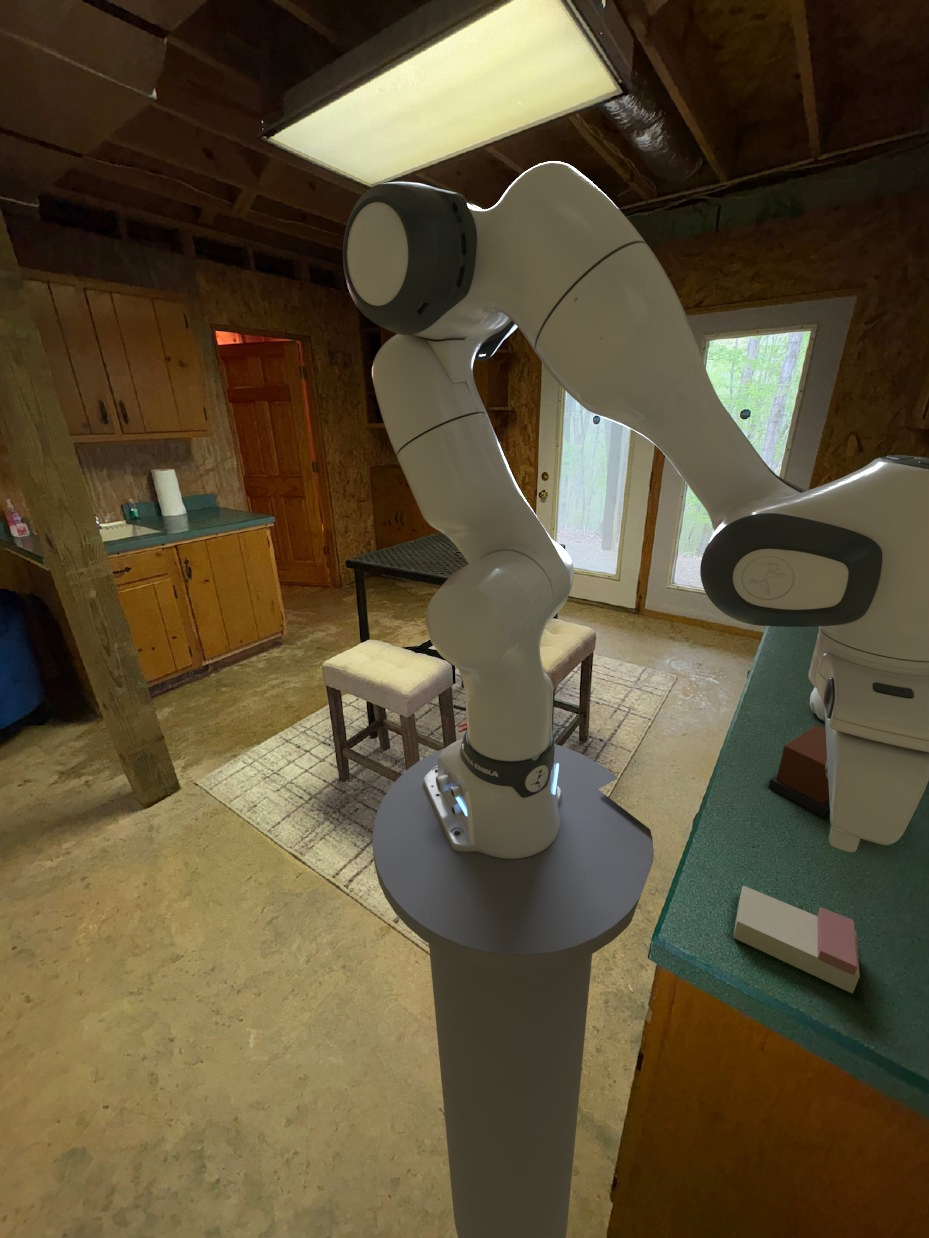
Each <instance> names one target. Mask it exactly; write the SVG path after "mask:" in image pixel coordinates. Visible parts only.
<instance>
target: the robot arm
mask: <svg viewBox="0 0 929 1238" xmlns="http://www.w3.org/2000/svg"><path fill="white" fill-rule="evenodd" d="M342 265H343V273H344V279H345V282H346V286H347V290H348V291H349V294H350V297H351V298H352V301H353V302H354V304H355V306H356V308H358V310H359V311H360V313H362V315H364V317H366V318H367V319H369V321H371V322H373V323H374V324H376V325H377V326H379V327H381V328H383V329H384V330H387V331H389V332H392V333H395V335H393V336H391V337H390V338H389V339H388V340H387V341H385V342H384V344H382V345H381V347H380V348H379V350H378V351H377V353H376V355H375V356H374V359H373V362H372V367H371V378H372V384H373V388H374V392H375V397H376V401H377V404H378V405H377V406H378V408H379V411H380V415H381V418H382V421H383V424H384V427H385V430H386V434H387V436H388V439H389V441H390V444H391V446H392V448H393V451H394V453H395V455H396V458H397V461H398V463H399V465H400V467H401V470H402V473H403V475H404V477H405V479H406V481H407V484H408V486H409V489H410V491H411V493H412V495H413V497H414V500H415V503H416V504H417V507H418V509H419V512H420V514H421V517H423V520H424V521H425V522H426V523H427V524H428V525H429V526H430V527H432V528H433V529H435V530H437V531H439V532H440V533H442V534H443V535H444V536H446V537H447V538H448V540H450V541H451V542H452V543H453V544H454V546H455V547H456V548H457V549H458V551H459V552H460V553H461V555H462V556H463V558H464V559H465V561H466V562H467V564H466V565H464V566H462V567H461V568H459V569H457V570H456V571H454V572H453V573H452V574H451V575H450V576H449V577H448V578H447V579H446V580H445V581H444V582H443V584H442V585H441V586H440V587H439V588H438V589H437V590H436V592H435V593H434V594H433V595H432V597H431V598H430V599H429V602H428V603H427V607H426V612H425V626H426V631H427V634H428V638H429V640H430V642H431V644H432V646H433V647H434V649H435V650H436V651H437V653H438V654H439V655H440V656H441V657H442V658H443V659H444V660H445V661H446V662H448V664H450V665H452V666H454V667H456V668H457V670H458V672H459V675H460V677H461V681H462V684H463V690H464V700H465V706H461V705H457V704H453V706H452V708H453V709H455V710H459V711H463V712H465V717H466V721H465V722H463V723H461V724H459V725H457V727H458V728H460V729H458V730H457V733H462V732H464V731H465V732H464V735H463V737H462V738H460V739H458V740H456V741H454V742H452V743H450V744H449V745H447V746H446V747H444V748H445V749H444V748H443V749H444V750H443V751H442V752H441V753H440V755H439V757H438V765H437V766H435V767H434V768H433V769H431V770H430V771H429V772H428V773H427V774H426V776H425V777H424V787H425V789H426V791H427V793H428V796H429V798H430V800H431V802H432V805H433V807H434V809H435V811H436V813H437V816H438V818H439V820H440V822H441V825H442V827H443V829H444V831H445V834H446V836H447V838H448V840H449V842H450V845H451V847H452V848H453V849H454V850H456V851H462V852H473V851H476V852H481V853H484V854H487V855H490V856H494V857H498V858H505V859H518V858H525V857H529V856H532V855H535V854H537V853H539V852H541V851H543V850H544V849H546V848H547V847H548V846H550V845H551V844H552V843H553V841H554V840H555V839H556V837H557V835H558V833H559V830H560V815H559V809H558V806H559V803H560V801H561V789H560V788H559V787H558V786H557V777H558V769H559V764H557V765H556V766H555V757H554V751H555V744H556V742H555V735H554V732H553V730H552V729H553V707H554V706H553V705H554V703H553V701H554V684H553V681H552V680H551V677H550V676H549V675H548V674H547V673H546V672H545V670H544V666H543V662H542V655H541V644H542V643H541V641H542V638H543V635H544V631H545V629H546V626H547V625H548V623H549V622H550V621H551V620H553V618H554V617H555V616H556V615H557V614H558V613H560V611H562V609H563V608H564V607H565V605H566V603H567V601H568V599H569V596H570V594H571V591H572V587H573V584H574V580H575V569H574V565H573V561H572V559H571V557H570V555H569V553H568V552H567V551H566V550H565V548H564V547H563V546H561V544H559V543H557V542H556V541H555V540H553V538H552V537H551V536H550V534H549V532H547V530H546V528H545V527H544V525H543V523H542V522H541V521H540V519H539V518H538V516H537V514H536V513H535V512H534V510H533V508H532V507H531V506H530V504H529V503H528V501H527V499H526V498H525V496H524V495H523V493H522V491H521V489H520V488H519V486H518V484H517V482H516V480H515V477H514V476H513V473H512V471H511V469H510V467H509V464H508V461H507V459H506V457H505V455H504V452H503V449H502V447H501V445H500V442H499V440H498V437H497V435H496V432H495V429H494V427H493V425H492V422H491V420H490V417H489V415H488V412H487V409H486V408H485V406H484V403H483V401H482V398H481V396H480V394H479V391H478V389H477V385H476V382H475V379H474V372H473V370H474V369H473V368H474V361H486V360H488V359H490V358H491V357H493V355H494V354H495V353H496V351H497V350H498V349H499V347H500V346H501V345H502V343H503V341H504V340H506V339H507V338H508V337H509V336H510V335H511V334H513V333H514V331H516V330H517V329H519V331H520V332H521V333H522V336H524V338H525V339H526V341H527V342H528V344H529V345H530V347H531V348H532V350H533V351H534V352H535V354H536V355H537V357H538V358H539V360H540V362H541V363H542V364H543V366H544V367H545V368H546V370H547V372H549V374H550V375H551V377H552V378H553V379H554V380H555V381H556V383H558V384H559V386H560V387H561V388H562V389H563V390H564V391H565V392H566V393H567V394H569V395H570V396H571V397H572V399H574V400H575V401H576V402H577V403H578V404H579V405H580V406H581V407H583V408H584V409H585V410H586V411H588V412H589V413H592V414H593V415H596V416H598V417H601V418H603V419H606V420H608V421H611V422H613V423H616V424H618V425H621V426H624V427H625V428H628V429H630V430H632V431H634V432H636V433H638V434H639V435H641V436H643V437H644V438H645V439H647V440H648V441H650V443H652V444H653V445H655V446H656V447H657V448H658V449H659V450H660V451H661V452H662V453H663V455H664V456H665V457H666V459H668V461H669V462H670V463H671V465H672V466H673V467H674V469H675V470H676V471H677V473H678V475H680V477H681V478H682V479H683V481H684V482H685V483H686V485H687V486H688V487H689V489H690V491H692V493H693V495H694V496H695V497H696V498H697V500H698V501H699V502H700V503H701V505H702V507H703V508H704V509H705V510H706V512H707V514H708V517H709V520H710V522H711V527H712V536H711V538H710V539H709V541H708V544H707V545H706V547H705V549H704V551H703V554H702V556H701V560H700V569H699V575H700V580H701V585H702V588H703V591H704V593H705V594H706V596H707V598H708V599H709V601H710V602H711V603H712V604H713V605H714V607H716V609H718V611H720V612H722V613H723V614H725V615H726V616H728V617H729V618H731V619H734V620H736V621H738V622H740V623H744V624H747V625H753V626H761V627H781V628H782V627H785V628H812V627H813V628H815V627H816V628H817V627H819V628H818V633H817V637H816V641H815V645H814V650H813V653H812V657H811V662H810V666H809V669H808V674H807V675H808V680H809V682H810V684H812V686H813V687H814V688H815V687H816V688H817V691H818V693H819V695H820V697H821V699H822V701H823V703H824V711H825V721H824V725H825V727H824V729H826V747H827V763H826V767H825V768H826V777H827V778H828V784H829V803H830V810H829V823H830V824H829V827H828V843H829V845H830V846H831V847H832V848H835V849H839V850H841V851H845V852H847V853H855V852H856V851H857V850H858V847H859V844H860V842H861V840H864V841H867V842H870V843H873V844H877V845H881V846H890V845H892V844H894V843H896V842H897V841H899V840H900V839H901V838H902V836H903V835H904V833H905V831H906V829H907V827H908V825H909V824H910V821H911V819H912V818H913V817H914V814H915V812H916V810H917V807H918V806H919V803H920V801H921V799H922V797H923V795H924V793H925V791H926V788H927V786H928V783H929V457H928V456H927V457H925V456H919V455H907V454H895V455H894V454H893V455H886V456H881V457H878V458H875V459H874V460H872V461H871V462H869V464H866V465H865V466H863V467H861V468H859V469H858V470H855V471H853V472H851V473H849V474H847V475H845V476H842V477H841V478H838V479H835V480H832V481H831V482H827V483H825V484H823V485H820V486H817V487H814V488H812V489H808V490H806V489H804V488H803V487H800V486H798V485H796V484H794V483H792V482H789V481H788V480H786V479H784V478H782V477H780V476H779V475H778V474H777V473H775V472H774V471H773V470H772V469H771V467H770V466H769V465H768V464H767V463H766V462H765V461H764V459H763V458H762V457H761V455H760V454H759V452H758V451H757V450H756V448H755V447H754V446H753V444H752V442H751V441H750V440H749V439H748V437H747V436H746V435H745V433H744V432H743V431H742V429H741V428H740V426H739V425H738V424H737V423H736V421H735V420H734V418H733V417H732V415H731V413H730V412H729V411H728V410H727V408H726V407H725V406H724V404H723V403H722V401H721V400H720V398H719V396H718V393H717V392H716V390H715V388H714V386H713V384H712V381H711V379H710V376H709V374H708V371H707V368H706V366H705V363H704V360H703V357H702V353H701V351H700V349H699V345H698V343H697V340H696V338H695V335H694V332H693V330H692V327H691V324H690V322H689V319H688V316H687V314H686V311H685V309H684V307H683V304H682V302H681V299H680V297H679V296H678V294H677V292H676V289H675V288H674V286H673V283H672V282H671V280H670V278H669V276H668V275H667V272H666V270H665V269H664V267H663V265H662V264H661V262H660V261H659V259H658V258H657V256H656V254H655V253H654V252H653V250H652V249H651V247H650V246H649V245H648V243H647V242H646V241H645V239H644V238H643V237H642V235H641V234H640V233H639V231H638V230H637V229H636V227H635V226H634V225H633V223H631V221H630V220H629V219H628V218H627V217H626V216H625V214H624V213H623V212H622V210H620V208H619V207H618V206H617V205H616V204H615V203H614V202H613V201H612V200H611V199H610V198H609V197H608V196H607V194H606V193H604V192H603V191H602V190H601V189H600V188H599V187H598V186H597V185H596V184H594V183H593V181H591V180H590V179H589V178H588V177H586V176H585V175H584V174H583V173H581V171H579V170H578V169H577V168H575V167H574V166H572V165H570V164H569V163H565V162H562V161H546V162H542V163H538V164H536V165H534V166H533V167H531V168H529V169H527V170H526V171H524V172H523V173H522V174H520V175H519V176H518V177H517V178H516V179H515V180H514V181H513V182H511V184H510V185H509V186H508V188H507V189H506V190H505V192H504V193H503V194H502V196H501V197H500V199H499V200H498V202H496V204H494V205H493V206H492V207H490V208H487V209H482V208H481V207H479V206H477V205H475V204H473V203H471V202H469V201H467V200H466V198H465V197H464V195H462V194H461V193H459V192H455V191H450V190H446V189H442V188H438V187H434V186H432V185H427V184H424V183H420V182H411V181H392V182H391V181H390V182H384V183H380V184H376V185H374V186H372V187H370V188H369V189H367V190H366V191H365V192H364V193H362V195H361V196H360V197H359V199H358V200H356V203H355V204H354V206H353V207H352V210H351V212H350V214H349V217H348V219H347V221H346V226H345V230H344V235H343V242H342ZM483 353H485V354H483ZM456 835H458V836H456Z"/></svg>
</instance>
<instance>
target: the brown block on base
mask: <svg viewBox="0 0 929 1238" xmlns="http://www.w3.org/2000/svg"><path fill="white" fill-rule="evenodd" d="M826 763H827V747H826V728H825V727H822V726H819V725H817V724H815V725H814V726H812V727H811V728H809V729H808V730H806V731H804V732H803V733H802V734H800V735H798V736H797V737H796V738H794V739H792V740H791V741H790V742H788V743H786V744H785V745H784V746H783V751H782V755H781V759H780V763H779V767H778V770H777V774H776V775H775V776H773V777H772V778H770V779H769V780H770V781H769V784H768V789H770V790H772V791H774V792H776V793H778V794H779V795H782V796H784V797H785V798H786V799H789V800H790V801H792V802H794V803H795V804H798V805H799V806H801V807H803V808H805V809H806V810H808V811H811V812H812V813H814V814H816V815H818V816H820V817H824V815H826V814H827V813H828V812H830V803H829V784H828V778H827V777H826V768H825V767H826Z"/></svg>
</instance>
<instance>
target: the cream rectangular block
mask: <svg viewBox="0 0 929 1238" xmlns="http://www.w3.org/2000/svg"><path fill="white" fill-rule="evenodd" d="M737 905H738V906H737V911H736V918H735V923H734V930H733V939H735V940H737V941H739V942H741V943H743V944H746V945H748V946H750V947H752V948H754V949H756V950H759V951H761V952H762V953H764V954H767V955H769V956H771V957H773V958H775V959H777V960H780V961H782V962H784V963H786V964H789V965H791V966H792V967H794V968H797V969H799V970H801V971H802V972H805V973H807V974H808V975H809V974H810V975H812V976H813V977H815V978H818V979H820V980H822V981H823V982H824V981H825V982H826V983H829V984H831V985H833V986H835V987H837V988H839V989H841V990H844V991H846V992H848V993H850V994H854V991H855V989H856V987H857V984H858V982H859V979H860V977H861V975H860V965H859V953H858V952H859V950H858V940H857V939H858V938H857V937H858V936H857V932H856V929H855V927H856V926H855V920H854V919H851V918H849V917H847V916H844V915H841V914H839V913H837V912H834V911H832V910H829V909H827V908H825V907H822V906H820V907H819V909H818V912H817V915H815V914H813V913H810V912H808V911H806V910H803V909H801V908H798V907H797V906H794V905H792V904H789V903H786V902H785V901H782V900H779V899H778V898H774V897H772V896H769V895H767V894H765V893H762V892H760V891H758V890H756V889H753V888H750V887H748V886H746V885H742V887H741V891H740V896H739V899H738V904H737Z"/></svg>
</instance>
